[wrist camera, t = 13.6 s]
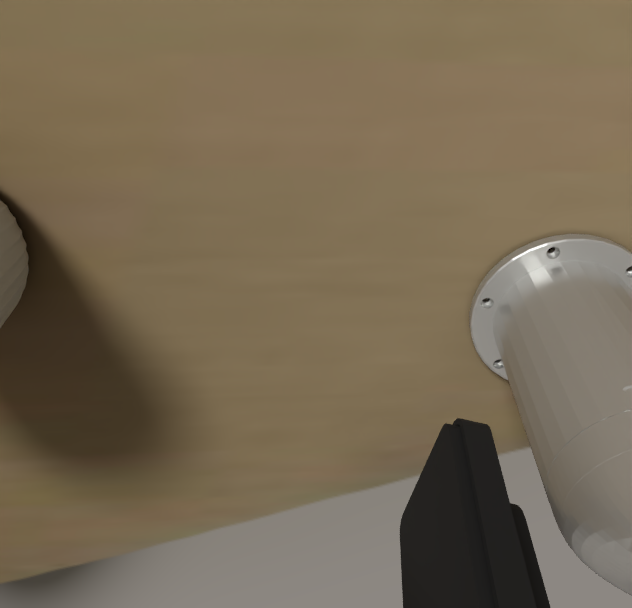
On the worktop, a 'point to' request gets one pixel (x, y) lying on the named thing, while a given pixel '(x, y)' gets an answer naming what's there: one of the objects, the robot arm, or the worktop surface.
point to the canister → (11, 263)
